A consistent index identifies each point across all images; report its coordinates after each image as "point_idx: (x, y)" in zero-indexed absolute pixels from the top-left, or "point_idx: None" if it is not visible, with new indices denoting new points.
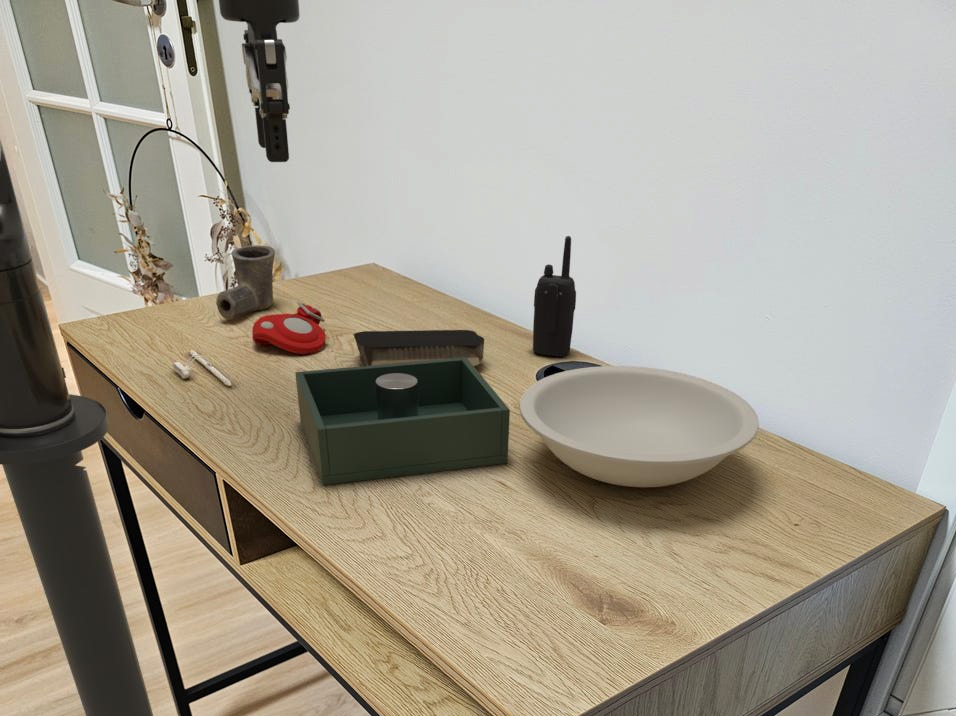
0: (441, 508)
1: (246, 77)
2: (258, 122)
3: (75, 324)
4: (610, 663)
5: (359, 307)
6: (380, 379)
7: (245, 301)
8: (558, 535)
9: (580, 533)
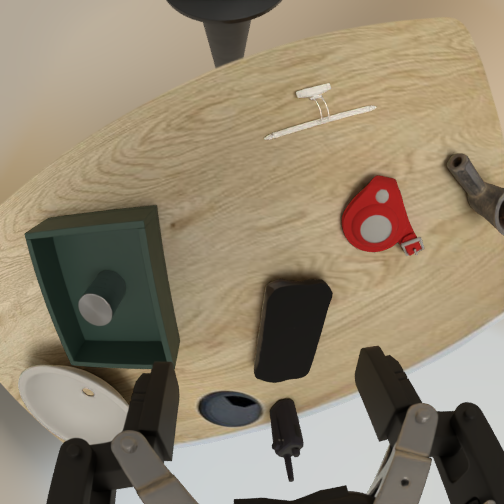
0: (28, 288)
1: (421, 467)
2: (380, 386)
3: (463, 25)
4: None
5: (443, 286)
6: (96, 298)
7: (463, 184)
8: (16, 334)
9: (20, 344)
